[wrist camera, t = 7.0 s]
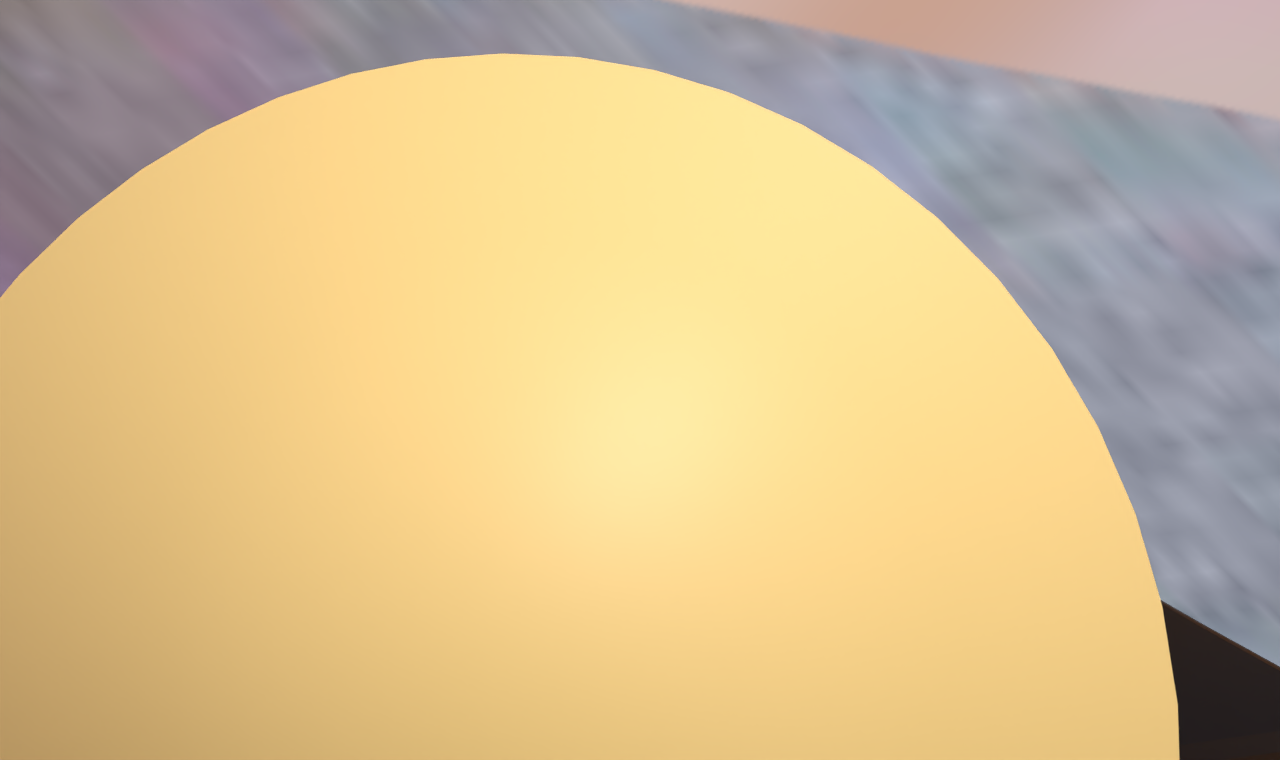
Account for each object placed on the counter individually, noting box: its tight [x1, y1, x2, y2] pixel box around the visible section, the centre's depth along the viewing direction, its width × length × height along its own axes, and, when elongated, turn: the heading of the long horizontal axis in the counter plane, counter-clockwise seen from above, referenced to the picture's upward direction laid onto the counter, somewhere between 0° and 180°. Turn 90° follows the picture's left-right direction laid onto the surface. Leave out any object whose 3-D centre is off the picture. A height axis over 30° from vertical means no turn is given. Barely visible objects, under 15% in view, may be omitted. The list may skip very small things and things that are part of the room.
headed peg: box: [0, 54, 1179, 760], centre depth 9 cm, size 4×4×13 cm
